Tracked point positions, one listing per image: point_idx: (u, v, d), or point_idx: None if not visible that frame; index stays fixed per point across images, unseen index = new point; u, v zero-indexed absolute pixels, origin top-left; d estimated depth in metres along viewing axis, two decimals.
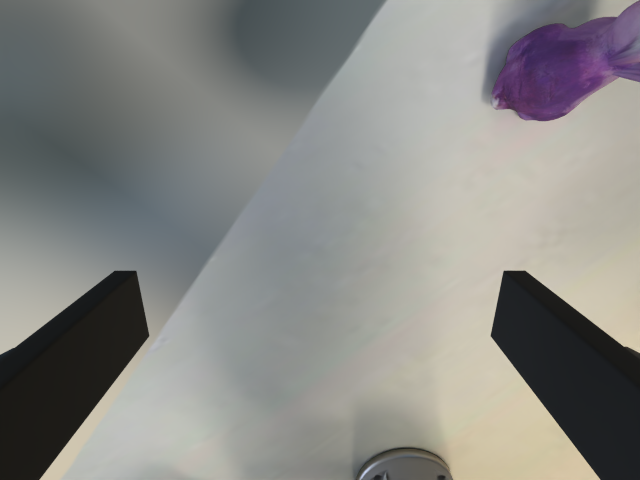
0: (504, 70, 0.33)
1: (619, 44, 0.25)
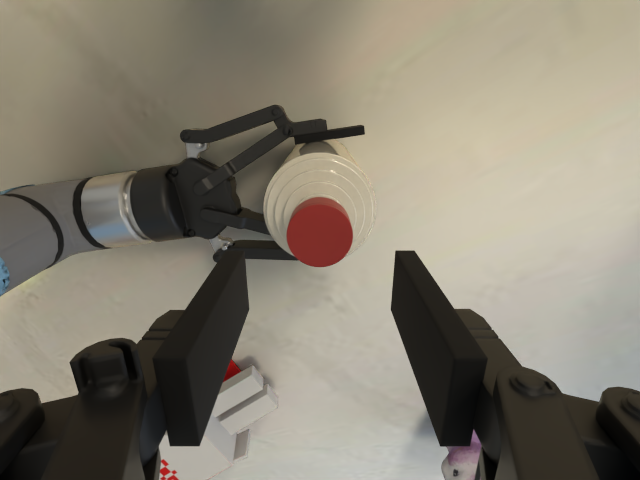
0: None
1: None
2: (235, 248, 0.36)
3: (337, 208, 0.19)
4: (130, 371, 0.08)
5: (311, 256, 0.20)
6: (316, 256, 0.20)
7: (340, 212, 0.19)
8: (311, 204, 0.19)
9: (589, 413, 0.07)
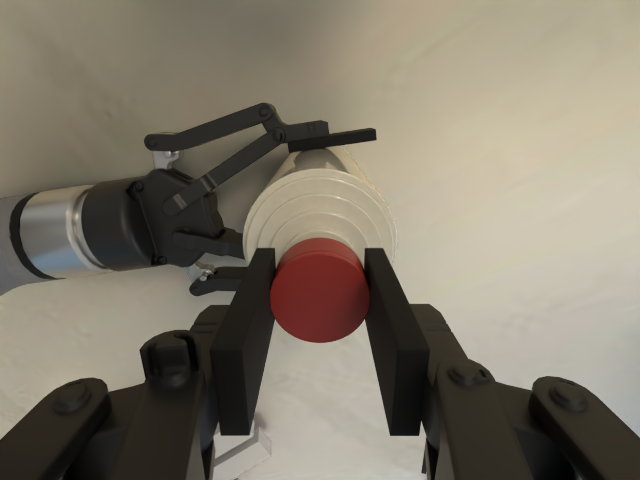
0: None
1: None
2: (216, 278, 0.30)
3: (347, 259, 0.13)
4: (191, 362, 0.08)
5: (307, 328, 0.13)
6: (315, 328, 0.13)
7: (351, 265, 0.12)
8: (307, 253, 0.12)
9: (523, 401, 0.07)
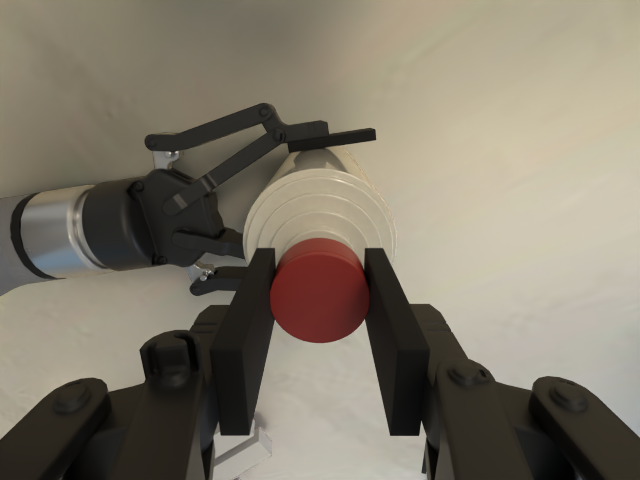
0: None
1: None
2: (216, 278, 0.30)
3: (277, 273, 0.13)
4: (191, 362, 0.08)
5: (351, 312, 0.13)
6: (351, 306, 0.13)
7: (281, 272, 0.12)
8: None
9: (523, 401, 0.07)
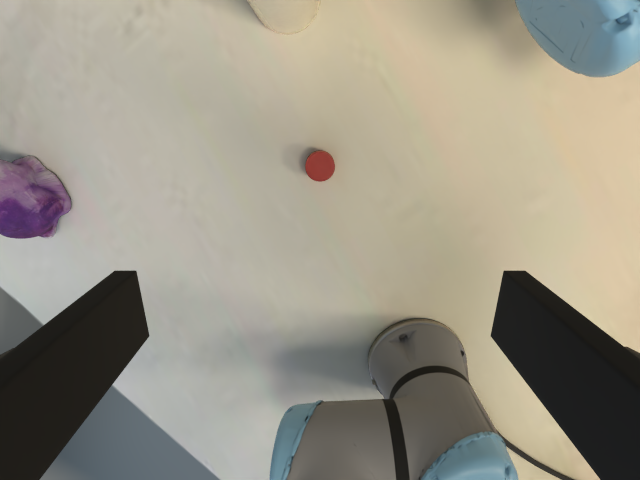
0: None
1: None
2: None
3: (329, 154, 0.44)
4: None
5: (315, 175, 0.45)
6: (317, 175, 0.45)
7: (330, 156, 0.44)
8: (318, 151, 0.44)
9: None
